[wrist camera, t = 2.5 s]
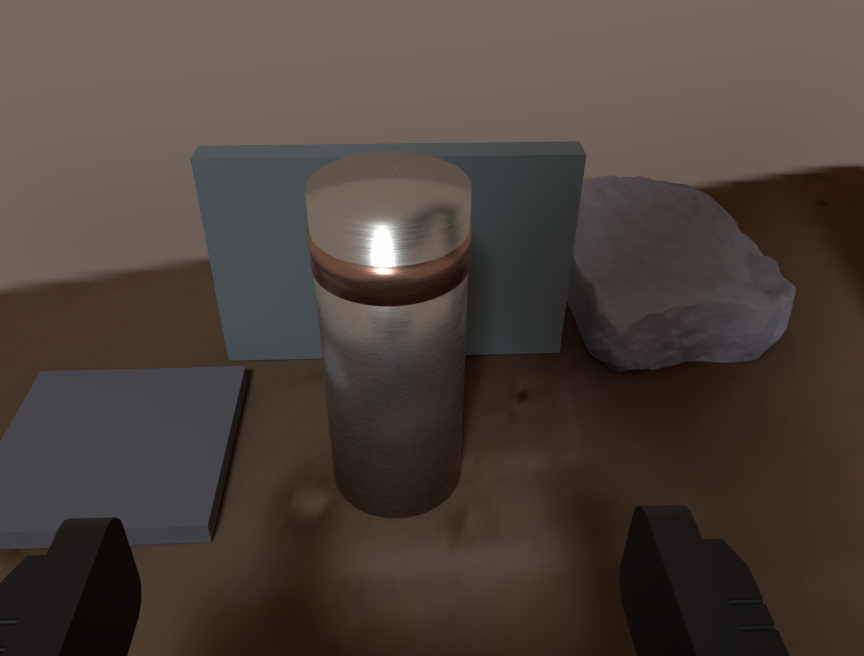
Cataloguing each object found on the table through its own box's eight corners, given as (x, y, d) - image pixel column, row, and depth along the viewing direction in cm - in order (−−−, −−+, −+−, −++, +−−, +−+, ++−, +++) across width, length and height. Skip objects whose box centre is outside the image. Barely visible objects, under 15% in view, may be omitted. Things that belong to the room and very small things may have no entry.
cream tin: (457, 421, 29) (466, 149, 23) (467, 516, 26) (481, 224, 19) (335, 425, 29) (309, 152, 23) (328, 521, 25) (295, 228, 19)
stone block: (688, 259, 43) (520, 236, 41) (726, 182, 40) (547, 154, 38) (788, 405, 34) (577, 386, 32) (846, 320, 31) (619, 291, 29)
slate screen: (554, 336, 34) (579, 141, 29) (559, 353, 33) (586, 154, 28) (233, 343, 33) (197, 145, 28) (228, 360, 32) (190, 159, 27)
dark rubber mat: (247, 381, 31) (245, 366, 31) (211, 542, 25) (207, 525, 24) (46, 386, 31) (40, 371, 30) (-44, 550, 24) (-54, 534, 24)
